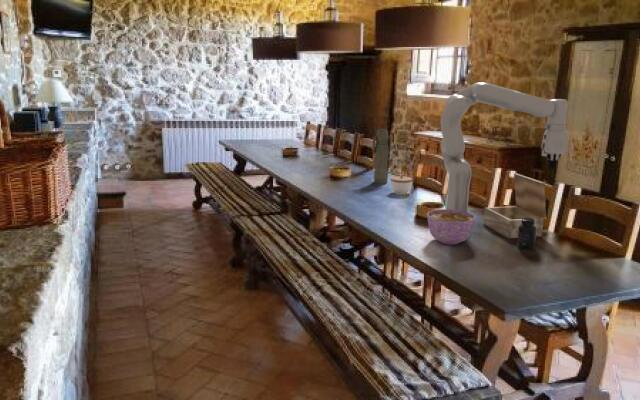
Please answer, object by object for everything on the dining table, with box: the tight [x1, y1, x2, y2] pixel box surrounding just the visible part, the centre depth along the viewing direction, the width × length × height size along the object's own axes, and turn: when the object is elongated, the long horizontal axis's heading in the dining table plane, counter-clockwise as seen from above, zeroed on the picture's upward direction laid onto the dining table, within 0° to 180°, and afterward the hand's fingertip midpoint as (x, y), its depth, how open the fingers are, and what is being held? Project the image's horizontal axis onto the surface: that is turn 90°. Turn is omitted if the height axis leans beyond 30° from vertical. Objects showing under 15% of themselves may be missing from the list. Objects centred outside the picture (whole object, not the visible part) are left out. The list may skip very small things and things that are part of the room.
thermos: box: [372, 128, 392, 185], centre depth 327 cm, size 9×12×35 cm
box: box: [483, 205, 545, 239], centre depth 229 cm, size 16×22×8 cm
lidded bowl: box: [390, 174, 413, 196], centre depth 300 cm, size 13×13×11 cm
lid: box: [513, 173, 547, 219], centre depth 227 cm, size 16×22×1 cm
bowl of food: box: [426, 208, 477, 245], centre depth 212 cm, size 20×20×12 cm
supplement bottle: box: [516, 218, 537, 250], centre depth 205 cm, size 7×7×12 cm
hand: (551, 168), depth 226 cm, fingers closed
